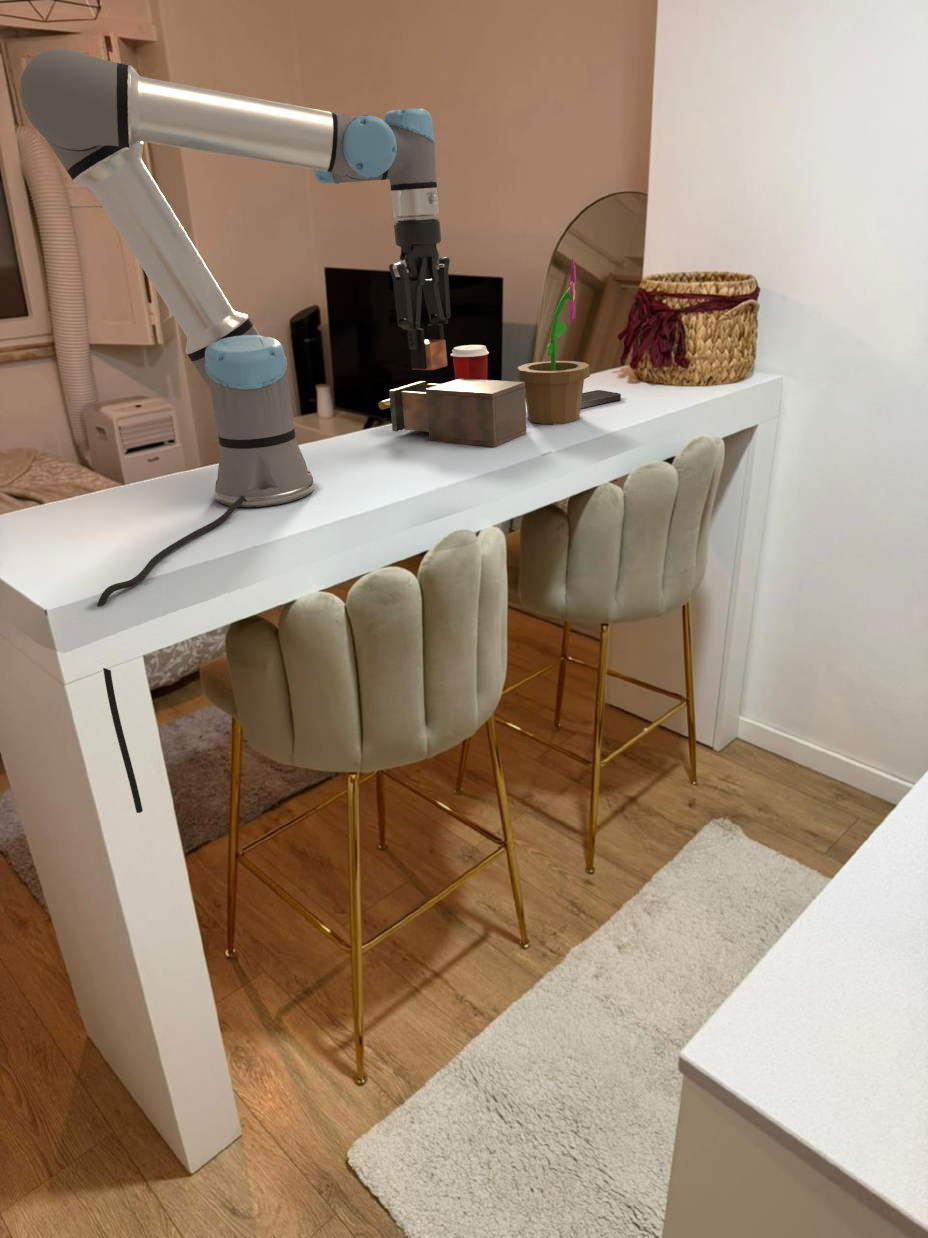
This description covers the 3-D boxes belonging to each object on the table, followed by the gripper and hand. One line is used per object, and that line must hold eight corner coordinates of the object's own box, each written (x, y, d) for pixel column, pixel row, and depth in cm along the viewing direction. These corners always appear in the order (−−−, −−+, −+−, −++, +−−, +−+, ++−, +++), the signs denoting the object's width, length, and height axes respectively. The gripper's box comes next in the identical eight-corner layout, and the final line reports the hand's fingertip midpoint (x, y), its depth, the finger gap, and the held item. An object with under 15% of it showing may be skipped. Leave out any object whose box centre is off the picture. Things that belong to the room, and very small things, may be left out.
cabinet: (429, 440, 168) (425, 388, 164) (463, 427, 176) (460, 377, 172) (494, 447, 160) (492, 393, 156) (526, 433, 169) (525, 381, 165)
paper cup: (492, 411, 188) (490, 343, 182) (490, 419, 181) (487, 348, 176) (456, 413, 189) (452, 345, 183) (452, 420, 182) (448, 350, 176)
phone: (623, 393, 192) (571, 404, 184) (623, 399, 193) (571, 410, 185) (598, 389, 198) (546, 399, 190) (597, 394, 198) (546, 405, 191)
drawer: (375, 429, 175) (371, 389, 172) (406, 418, 183) (403, 379, 179) (449, 436, 166) (446, 394, 162) (479, 424, 173) (477, 384, 170)
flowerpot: (587, 425, 172) (588, 259, 159) (514, 426, 174) (509, 262, 162) (591, 410, 184) (592, 254, 172) (522, 411, 187) (519, 258, 174)
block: (432, 370, 151) (429, 343, 149) (412, 369, 153) (409, 343, 152) (447, 365, 154) (445, 339, 152) (427, 365, 157) (425, 339, 155)
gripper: (400, 220, 136) (414, 375, 146) (466, 214, 148) (474, 358, 158) (363, 222, 140) (379, 373, 150) (430, 217, 152) (441, 356, 162)
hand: (428, 365), depth 154 cm, fingers closed on block, 4 cm apart
